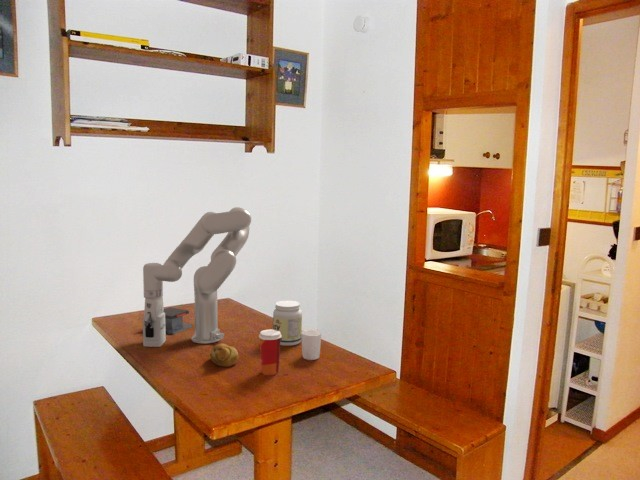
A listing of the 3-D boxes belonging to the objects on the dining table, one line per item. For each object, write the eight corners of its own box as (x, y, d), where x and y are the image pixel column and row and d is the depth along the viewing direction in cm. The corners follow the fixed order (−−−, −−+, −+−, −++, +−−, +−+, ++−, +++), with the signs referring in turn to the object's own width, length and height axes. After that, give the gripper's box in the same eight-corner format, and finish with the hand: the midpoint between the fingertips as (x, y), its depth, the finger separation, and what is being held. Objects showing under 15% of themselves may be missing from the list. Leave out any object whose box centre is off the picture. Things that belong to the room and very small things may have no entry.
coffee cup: (269, 366, 196) (270, 327, 194) (286, 371, 191) (286, 332, 189) (253, 372, 189) (253, 332, 187) (269, 378, 184) (269, 337, 182)
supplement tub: (268, 339, 226) (268, 301, 224) (294, 335, 231) (294, 298, 229) (279, 348, 215) (280, 308, 213) (306, 344, 221) (307, 305, 218)
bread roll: (204, 359, 201) (204, 339, 200) (227, 354, 207) (227, 335, 206) (218, 370, 191) (218, 349, 190) (242, 365, 197) (242, 344, 195)
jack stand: (192, 327, 241) (191, 310, 240) (172, 334, 230) (172, 317, 229) (170, 322, 247) (170, 306, 246) (150, 330, 235) (149, 313, 234)
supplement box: (160, 347, 214) (160, 317, 213) (142, 346, 214) (141, 316, 213) (166, 341, 222) (165, 312, 220) (149, 340, 222) (148, 311, 220)
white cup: (303, 361, 201) (303, 336, 200) (298, 354, 209) (299, 330, 207) (323, 359, 203) (323, 334, 202) (318, 352, 211) (318, 328, 210)
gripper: (154, 298, 206) (155, 340, 209) (169, 288, 223) (169, 327, 226) (135, 297, 207) (136, 340, 209) (152, 288, 224) (152, 327, 226)
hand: (154, 333), depth 217 cm, fingers open, 9 cm apart
